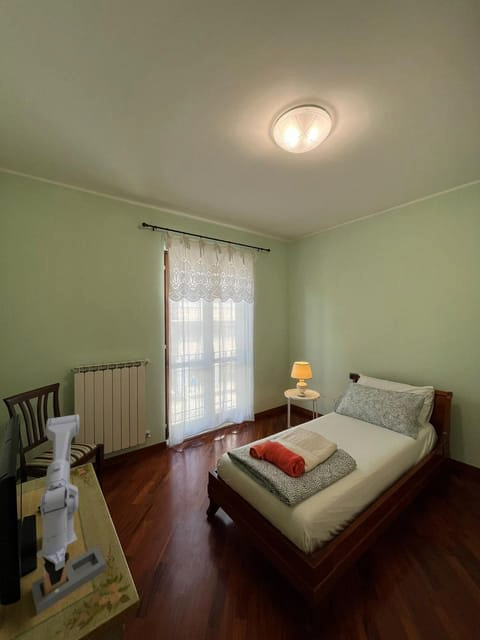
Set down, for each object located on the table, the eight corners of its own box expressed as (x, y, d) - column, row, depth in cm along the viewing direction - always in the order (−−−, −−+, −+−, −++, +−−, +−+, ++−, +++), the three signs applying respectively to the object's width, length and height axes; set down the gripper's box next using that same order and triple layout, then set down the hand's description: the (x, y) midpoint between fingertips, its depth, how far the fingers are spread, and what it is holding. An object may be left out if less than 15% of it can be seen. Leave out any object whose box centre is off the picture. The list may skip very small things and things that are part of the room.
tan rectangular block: (43, 589, 73) (43, 564, 73) (63, 577, 76) (63, 553, 76) (45, 598, 70) (46, 572, 71) (66, 585, 74) (66, 561, 74)
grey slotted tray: (31, 592, 73) (31, 582, 73) (96, 553, 85) (96, 545, 85) (36, 616, 67) (37, 606, 67) (105, 571, 79) (105, 562, 79)
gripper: (33, 524, 76) (32, 570, 75) (42, 554, 66) (41, 607, 65) (61, 511, 81) (61, 554, 80) (73, 538, 71) (73, 587, 70)
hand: (54, 577), depth 73 cm, fingers closed on tan rectangular block, 4 cm apart
